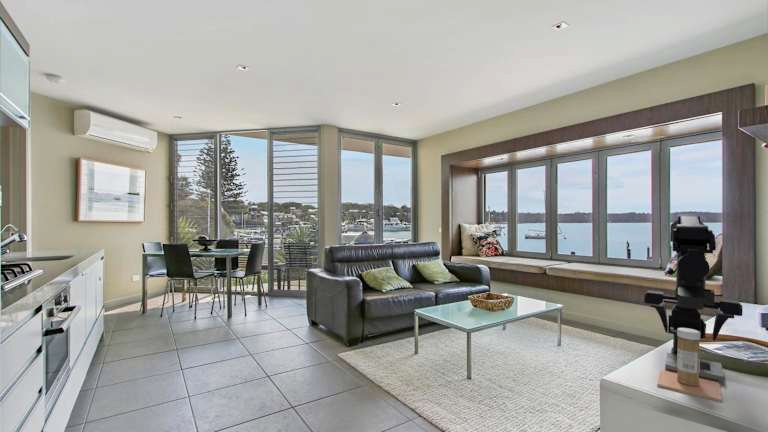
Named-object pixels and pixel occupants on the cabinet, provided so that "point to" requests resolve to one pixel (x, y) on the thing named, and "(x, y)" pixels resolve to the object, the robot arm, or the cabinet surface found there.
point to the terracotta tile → (703, 390)
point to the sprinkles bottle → (688, 356)
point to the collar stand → (713, 367)
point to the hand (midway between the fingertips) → (689, 336)
